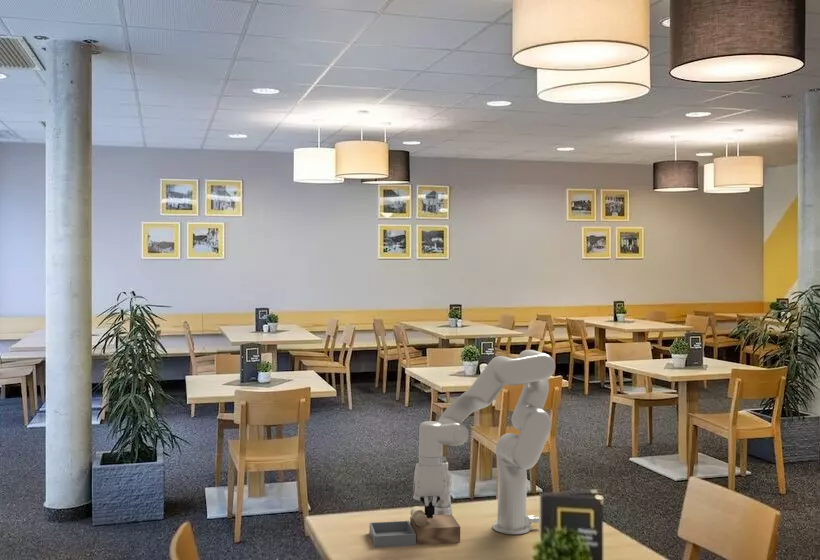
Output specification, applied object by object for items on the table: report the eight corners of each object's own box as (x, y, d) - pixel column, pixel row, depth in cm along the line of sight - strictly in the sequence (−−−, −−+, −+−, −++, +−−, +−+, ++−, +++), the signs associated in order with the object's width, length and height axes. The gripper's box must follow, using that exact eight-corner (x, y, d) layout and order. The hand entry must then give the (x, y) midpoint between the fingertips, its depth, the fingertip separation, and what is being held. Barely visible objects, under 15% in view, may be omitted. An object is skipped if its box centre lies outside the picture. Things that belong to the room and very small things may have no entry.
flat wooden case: (451, 529, 271) (451, 514, 271) (460, 542, 259) (460, 526, 259) (410, 531, 269) (410, 516, 268) (416, 544, 257) (416, 528, 257)
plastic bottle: (450, 523, 277) (451, 465, 276) (430, 522, 278) (431, 463, 277) (453, 517, 283) (454, 460, 282) (434, 516, 285) (434, 459, 284)
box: (408, 531, 269) (408, 520, 269) (415, 545, 256) (416, 534, 256) (369, 533, 267) (369, 522, 267) (374, 547, 254) (374, 536, 254)
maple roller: (418, 503, 267) (408, 510, 266) (423, 511, 259) (412, 518, 258) (424, 513, 267) (414, 520, 267) (429, 521, 259) (419, 529, 259)
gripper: (450, 456, 268) (449, 512, 268) (405, 458, 265) (404, 514, 266) (455, 462, 260) (454, 519, 261) (409, 464, 258) (408, 521, 258)
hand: (429, 516), depth 263 cm, fingers closed
